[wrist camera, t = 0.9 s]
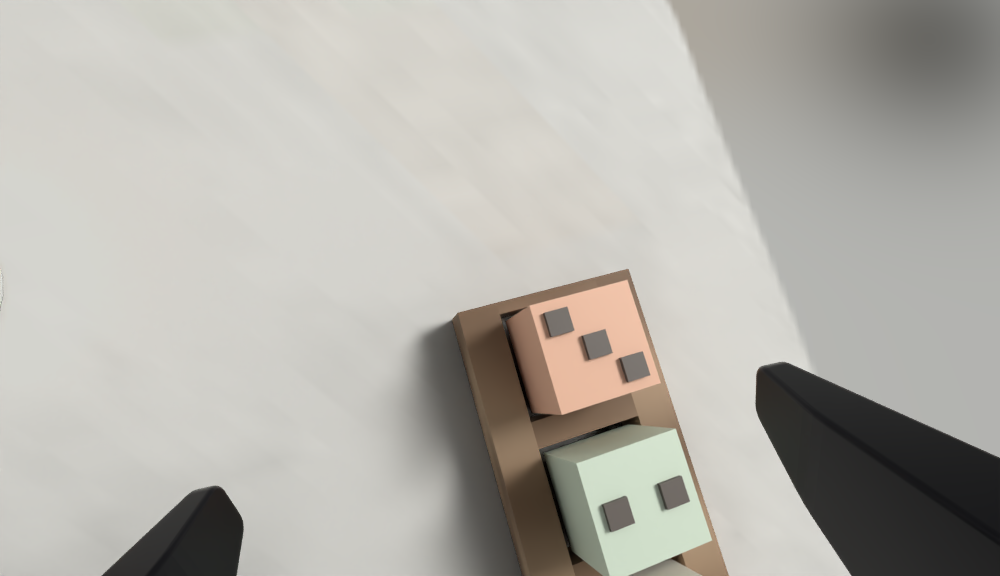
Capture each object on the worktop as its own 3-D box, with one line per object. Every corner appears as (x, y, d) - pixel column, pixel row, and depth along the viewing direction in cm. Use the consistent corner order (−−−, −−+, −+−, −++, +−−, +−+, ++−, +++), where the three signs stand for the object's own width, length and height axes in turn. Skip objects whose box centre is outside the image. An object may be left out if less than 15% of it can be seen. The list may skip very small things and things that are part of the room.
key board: (727, 644, 24) (757, 665, 22) (562, 723, 22) (580, 754, 20) (610, 278, 26) (628, 269, 24) (451, 319, 24) (457, 312, 22)
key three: (616, 385, 24) (663, 382, 20) (531, 412, 23) (563, 415, 19) (588, 298, 24) (629, 278, 20) (505, 321, 23) (530, 304, 19)
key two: (657, 517, 23) (715, 541, 19) (571, 551, 22) (614, 584, 18) (628, 424, 24) (678, 428, 19) (543, 453, 23) (578, 464, 18)
